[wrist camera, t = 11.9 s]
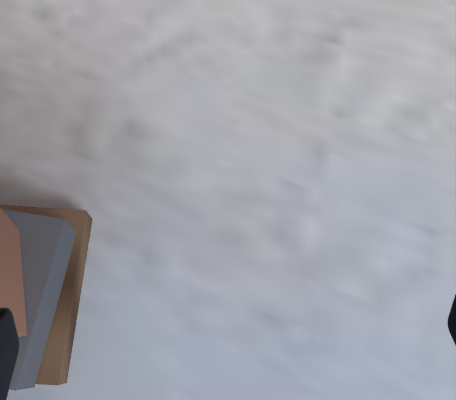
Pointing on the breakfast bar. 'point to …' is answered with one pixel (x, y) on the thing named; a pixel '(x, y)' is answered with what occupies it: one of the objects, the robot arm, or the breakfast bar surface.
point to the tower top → (39, 286)
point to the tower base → (63, 296)
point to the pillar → (12, 273)
